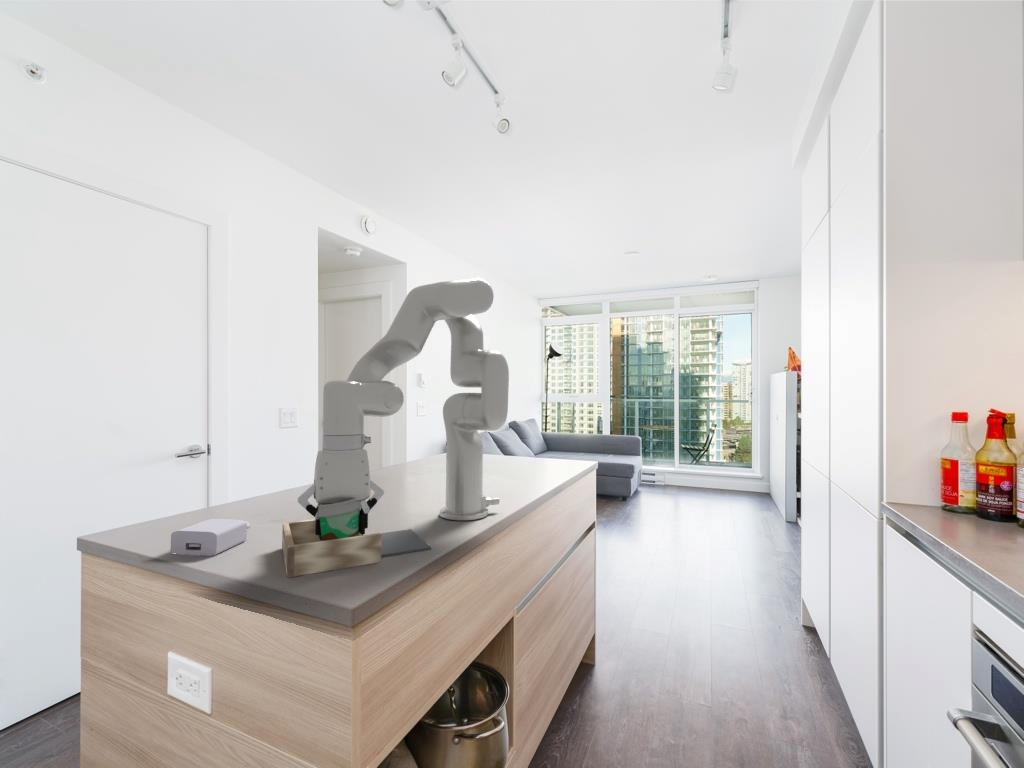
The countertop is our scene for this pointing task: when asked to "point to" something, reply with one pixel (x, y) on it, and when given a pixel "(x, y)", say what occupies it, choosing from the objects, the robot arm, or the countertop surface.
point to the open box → (325, 550)
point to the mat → (401, 542)
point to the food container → (339, 519)
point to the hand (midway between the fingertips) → (341, 534)
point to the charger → (209, 537)
